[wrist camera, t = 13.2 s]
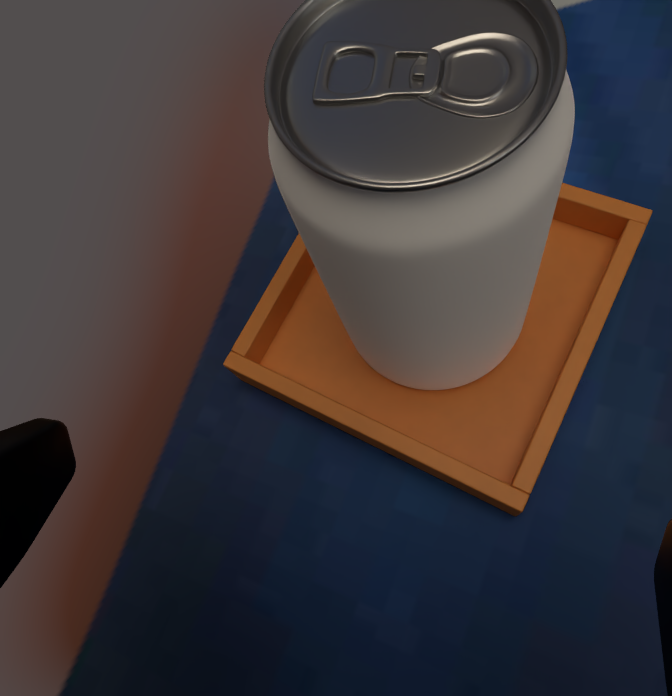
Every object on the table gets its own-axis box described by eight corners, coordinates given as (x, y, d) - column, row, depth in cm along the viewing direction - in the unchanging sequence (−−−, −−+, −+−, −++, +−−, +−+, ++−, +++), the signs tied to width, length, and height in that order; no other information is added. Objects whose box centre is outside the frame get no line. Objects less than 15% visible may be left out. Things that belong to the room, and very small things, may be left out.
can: (515, 405, 20) (584, 221, 9) (333, 382, 22) (206, 200, 11) (530, 238, 22) (602, -78, 11) (362, 228, 24) (279, -60, 13)
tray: (516, 517, 20) (522, 512, 18) (240, 380, 23) (221, 364, 21) (637, 239, 22) (653, 209, 20) (370, 152, 26) (363, 121, 24)
